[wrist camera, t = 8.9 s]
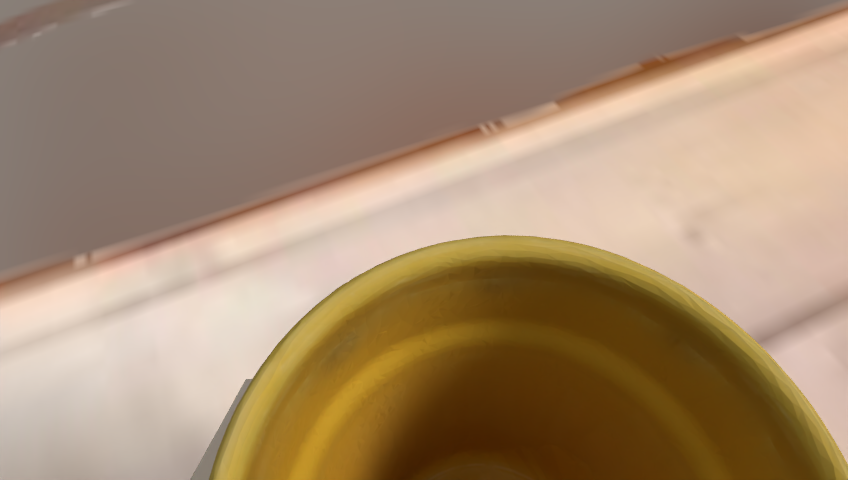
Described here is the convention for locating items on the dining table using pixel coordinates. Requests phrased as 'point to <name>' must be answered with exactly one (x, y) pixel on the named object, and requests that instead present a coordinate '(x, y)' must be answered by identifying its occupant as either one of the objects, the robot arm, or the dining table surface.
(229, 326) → the dining table surface
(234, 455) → the plant pot
